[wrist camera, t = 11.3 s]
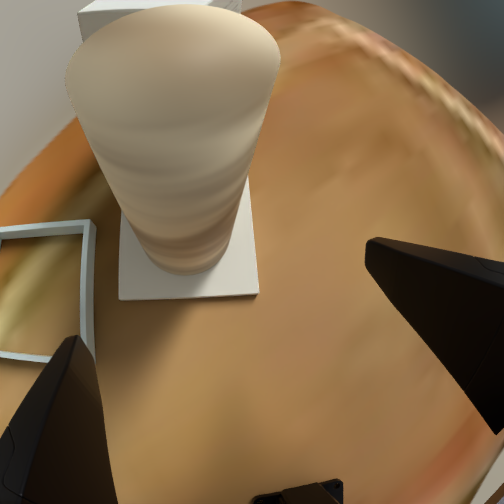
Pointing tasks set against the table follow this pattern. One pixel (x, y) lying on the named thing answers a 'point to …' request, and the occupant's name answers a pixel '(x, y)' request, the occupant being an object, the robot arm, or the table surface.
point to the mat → (199, 285)
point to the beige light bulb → (176, 122)
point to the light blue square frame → (85, 281)
